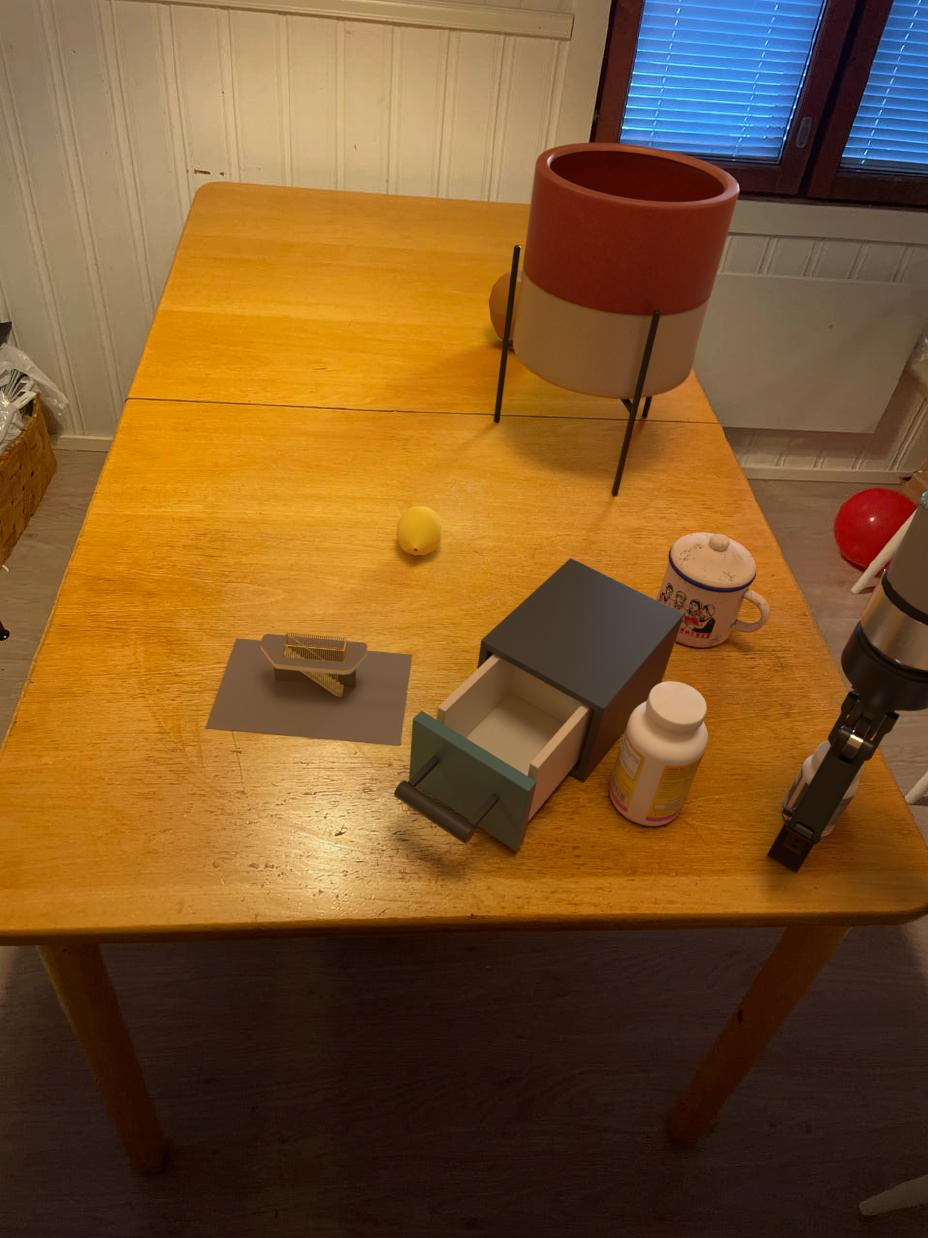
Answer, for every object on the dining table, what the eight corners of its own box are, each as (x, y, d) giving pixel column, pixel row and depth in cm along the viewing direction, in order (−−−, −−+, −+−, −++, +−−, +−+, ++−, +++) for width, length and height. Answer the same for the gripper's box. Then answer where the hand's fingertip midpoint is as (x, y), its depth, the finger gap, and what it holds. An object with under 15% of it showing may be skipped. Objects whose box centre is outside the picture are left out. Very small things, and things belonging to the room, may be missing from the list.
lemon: (400, 528, 106) (402, 491, 102) (445, 534, 106) (448, 497, 102) (390, 565, 101) (391, 527, 97) (436, 571, 100) (439, 533, 97)
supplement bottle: (691, 789, 80) (731, 694, 72) (665, 842, 76) (705, 747, 67) (624, 757, 83) (655, 660, 74) (595, 806, 78) (624, 709, 69)
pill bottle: (843, 835, 78) (881, 777, 72) (795, 842, 77) (830, 784, 71) (817, 791, 81) (851, 733, 76) (771, 797, 80) (802, 738, 75)
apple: (472, 331, 148) (478, 262, 140) (539, 322, 152) (549, 255, 145) (507, 366, 139) (515, 295, 132) (577, 355, 144) (589, 286, 136)
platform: (400, 745, 81) (402, 697, 77) (205, 727, 81) (196, 678, 77) (412, 654, 90) (414, 607, 86) (236, 638, 90) (230, 589, 85)
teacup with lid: (635, 622, 97) (659, 537, 89) (675, 584, 102) (702, 501, 94) (733, 677, 92) (768, 593, 84) (770, 634, 97) (807, 551, 89)
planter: (527, 500, 112) (572, 209, 88) (485, 402, 130) (513, 138, 106) (697, 492, 117) (784, 213, 93) (634, 398, 135) (693, 144, 111)
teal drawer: (481, 893, 70) (492, 834, 64) (371, 817, 74) (372, 755, 69) (601, 746, 82) (619, 685, 77) (500, 688, 87) (510, 626, 81)
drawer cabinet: (583, 783, 80) (604, 708, 73) (471, 715, 85) (480, 639, 78) (659, 686, 90) (684, 613, 83) (555, 631, 95) (570, 557, 88)
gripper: (919, 768, 55) (801, 937, 70) (997, 582, 70) (887, 753, 85) (804, 710, 58) (715, 884, 73) (904, 543, 73) (812, 715, 88)
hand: (807, 813), depth 79 cm, fingers open, 12 cm apart
